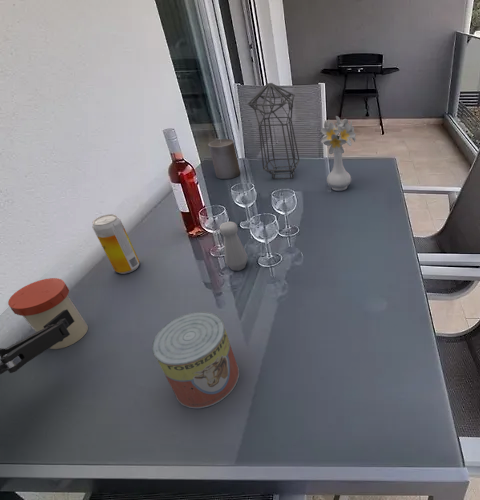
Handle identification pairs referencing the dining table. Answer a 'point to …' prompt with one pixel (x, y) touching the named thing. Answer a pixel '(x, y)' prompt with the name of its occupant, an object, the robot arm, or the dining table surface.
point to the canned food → (197, 359)
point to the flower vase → (338, 151)
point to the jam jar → (42, 319)
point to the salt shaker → (233, 247)
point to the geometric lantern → (251, 104)
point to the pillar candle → (224, 158)
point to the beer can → (116, 243)
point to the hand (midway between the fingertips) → (30, 328)
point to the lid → (38, 297)
